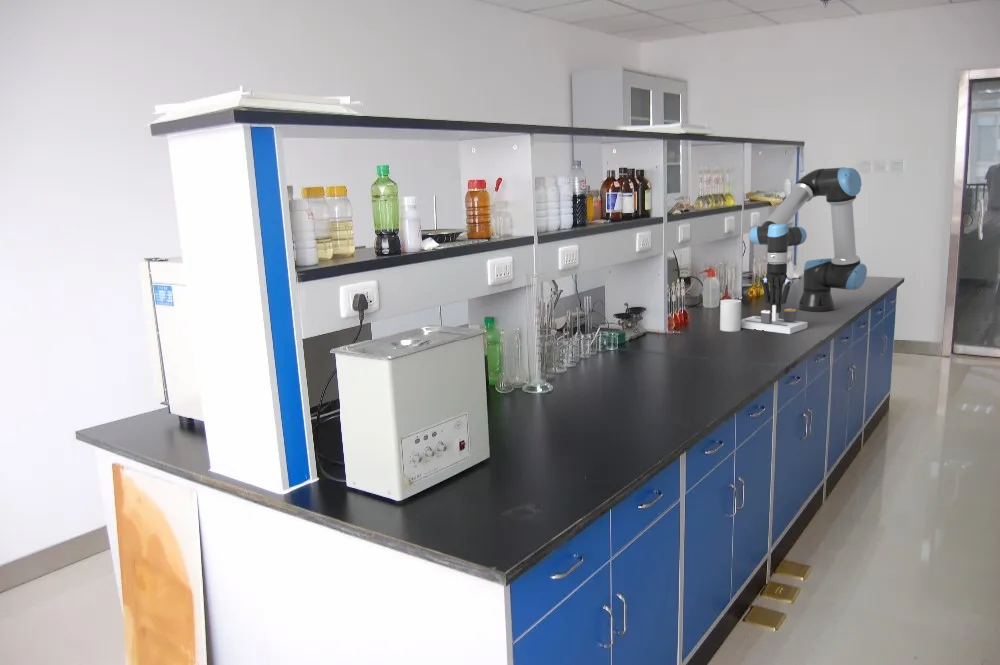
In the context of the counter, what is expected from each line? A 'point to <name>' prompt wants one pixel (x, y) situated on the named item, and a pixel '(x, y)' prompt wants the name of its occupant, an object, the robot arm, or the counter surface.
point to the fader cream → (766, 316)
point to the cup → (730, 315)
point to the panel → (773, 325)
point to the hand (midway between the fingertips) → (775, 320)
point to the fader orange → (790, 315)
